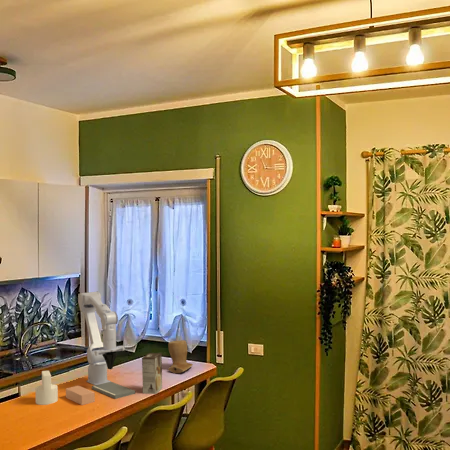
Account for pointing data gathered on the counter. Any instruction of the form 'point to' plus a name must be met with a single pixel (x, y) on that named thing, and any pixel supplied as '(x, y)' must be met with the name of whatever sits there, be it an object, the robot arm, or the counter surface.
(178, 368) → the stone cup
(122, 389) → the board
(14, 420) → the counter surface
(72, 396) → the tan rectangular block
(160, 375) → the coffee box
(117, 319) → the robot arm
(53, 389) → the base with upright slab
